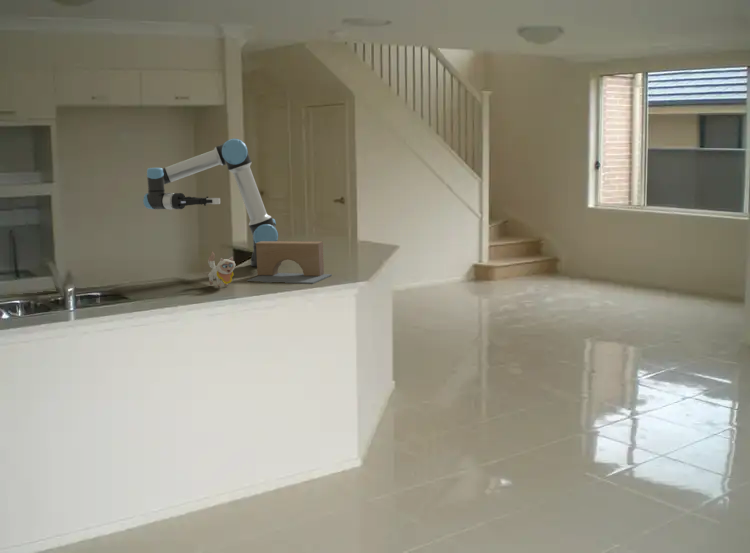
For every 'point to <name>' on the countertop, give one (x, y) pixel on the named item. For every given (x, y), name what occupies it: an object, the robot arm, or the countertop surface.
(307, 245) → the decorative block
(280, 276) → the mat
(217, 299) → the countertop surface
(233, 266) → the toy
